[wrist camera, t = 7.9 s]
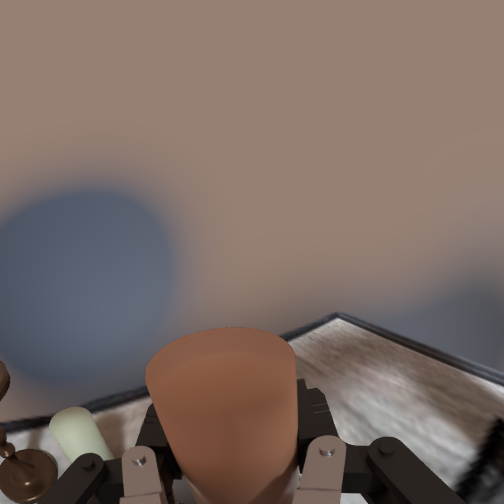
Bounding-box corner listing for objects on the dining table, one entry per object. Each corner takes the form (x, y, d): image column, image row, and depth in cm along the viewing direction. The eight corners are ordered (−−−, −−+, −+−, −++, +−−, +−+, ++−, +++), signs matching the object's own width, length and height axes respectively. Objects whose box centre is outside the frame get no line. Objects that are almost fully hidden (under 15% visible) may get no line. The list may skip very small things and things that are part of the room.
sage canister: (113, 463, 27) (80, 401, 25) (135, 485, 25) (100, 423, 22) (83, 480, 24) (43, 419, 22) (103, 504, 21) (59, 445, 19)
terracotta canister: (245, 468, 15) (216, 317, 12) (315, 500, 12) (323, 345, 9) (188, 517, 11) (118, 370, 9) (261, 562, 8) (224, 439, 6)
